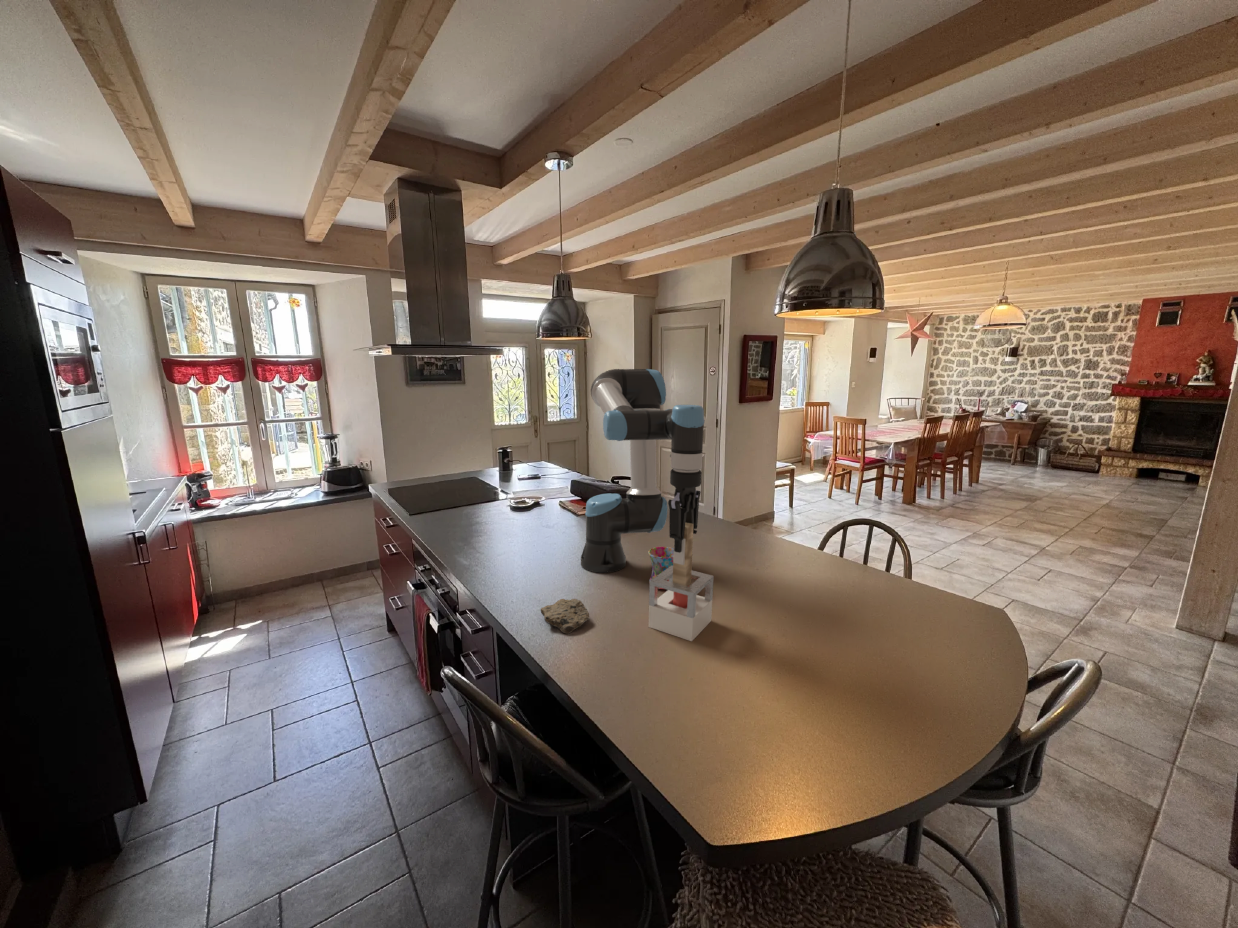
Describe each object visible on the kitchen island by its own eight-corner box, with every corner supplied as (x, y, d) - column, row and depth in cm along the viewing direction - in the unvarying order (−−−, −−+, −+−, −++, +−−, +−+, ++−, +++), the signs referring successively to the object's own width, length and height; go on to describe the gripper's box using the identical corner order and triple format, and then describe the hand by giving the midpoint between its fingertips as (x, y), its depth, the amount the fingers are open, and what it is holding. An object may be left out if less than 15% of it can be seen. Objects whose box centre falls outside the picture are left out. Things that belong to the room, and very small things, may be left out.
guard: (671, 587, 134) (671, 565, 132) (712, 599, 127) (713, 575, 126) (649, 604, 124) (649, 580, 123) (692, 618, 117) (693, 593, 116)
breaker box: (670, 608, 135) (671, 587, 134) (711, 620, 128) (712, 599, 127) (648, 626, 125) (649, 604, 124) (691, 641, 119) (692, 618, 117)
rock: (551, 638, 120) (551, 621, 119) (538, 616, 130) (538, 601, 129) (593, 628, 124) (593, 612, 123) (578, 607, 135) (577, 593, 134)
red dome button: (677, 606, 129) (678, 580, 127) (691, 611, 127) (692, 583, 125) (670, 612, 125) (671, 585, 124) (684, 617, 123) (685, 589, 122)
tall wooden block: (678, 580, 127) (680, 521, 124) (691, 584, 125) (693, 523, 122) (672, 585, 124) (674, 524, 121) (685, 589, 122) (687, 527, 119)
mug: (657, 594, 143) (658, 559, 141) (642, 582, 151) (642, 549, 149) (691, 586, 148) (693, 553, 146) (674, 575, 157) (675, 543, 154)
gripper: (686, 462, 128) (683, 547, 132) (655, 473, 114) (653, 568, 118) (713, 465, 124) (709, 553, 128) (685, 477, 110) (681, 575, 114)
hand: (682, 560), depth 123 cm, fingers closed on tall wooden block, 3 cm apart
